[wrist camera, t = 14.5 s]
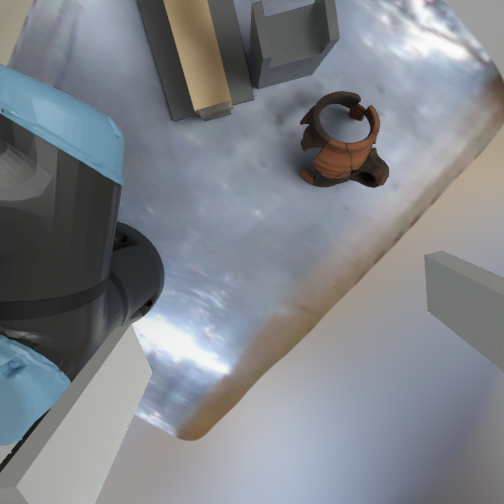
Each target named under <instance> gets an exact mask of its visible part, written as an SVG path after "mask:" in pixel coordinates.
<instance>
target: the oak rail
mask: <svg viewBox="0 0 504 504" xmlns="http://www.w3.org/2000/svg"><path fill="white" fill-rule="evenodd" d="M163 1H164V4H165V8H166V11H167V15H168V18H169V22H170V25H171V29H172V33H173V36H174V40H175V43H176V47H177V50H178V54H179V57H180V61H181V64H182V68H183V72H184V75H185V79H186V82H187V86H188V89H189V93H190V96H191V100H192V104H193V107H194V110H195V112H196V113H197V114H198V115H199V116H200V117H202V118H203V120H204V121H208V120H211V119H215V118H219V117H222V116H226V115H230V114H231V112H230V109H233V106H232V101H231V97H230V92H229V88H228V84H227V80H226V76H225V72H224V68H223V64H222V60H221V55H220V51H219V47H218V43H217V39H216V35H215V31H214V27H213V23H212V18H211V14H210V10H209V6H208V2H207V0H163Z"/></svg>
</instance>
